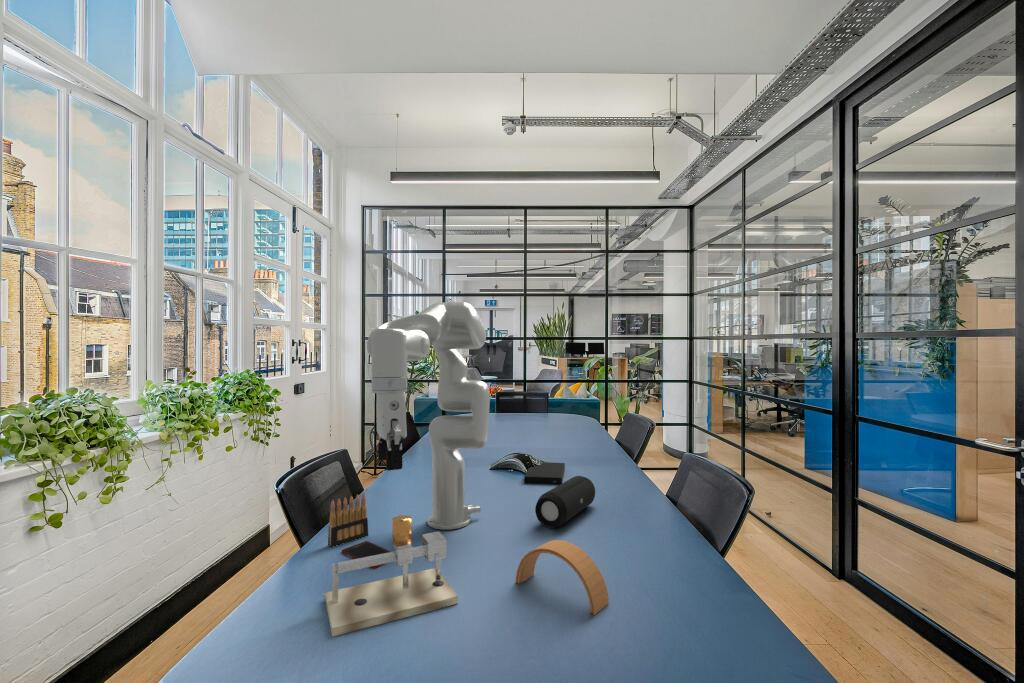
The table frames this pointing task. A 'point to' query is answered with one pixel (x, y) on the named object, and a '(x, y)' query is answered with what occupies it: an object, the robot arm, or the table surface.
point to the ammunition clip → (348, 521)
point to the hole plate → (387, 601)
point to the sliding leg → (403, 544)
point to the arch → (580, 565)
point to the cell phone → (364, 551)
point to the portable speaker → (564, 501)
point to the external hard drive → (545, 474)
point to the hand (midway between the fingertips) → (389, 464)
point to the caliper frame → (395, 559)
